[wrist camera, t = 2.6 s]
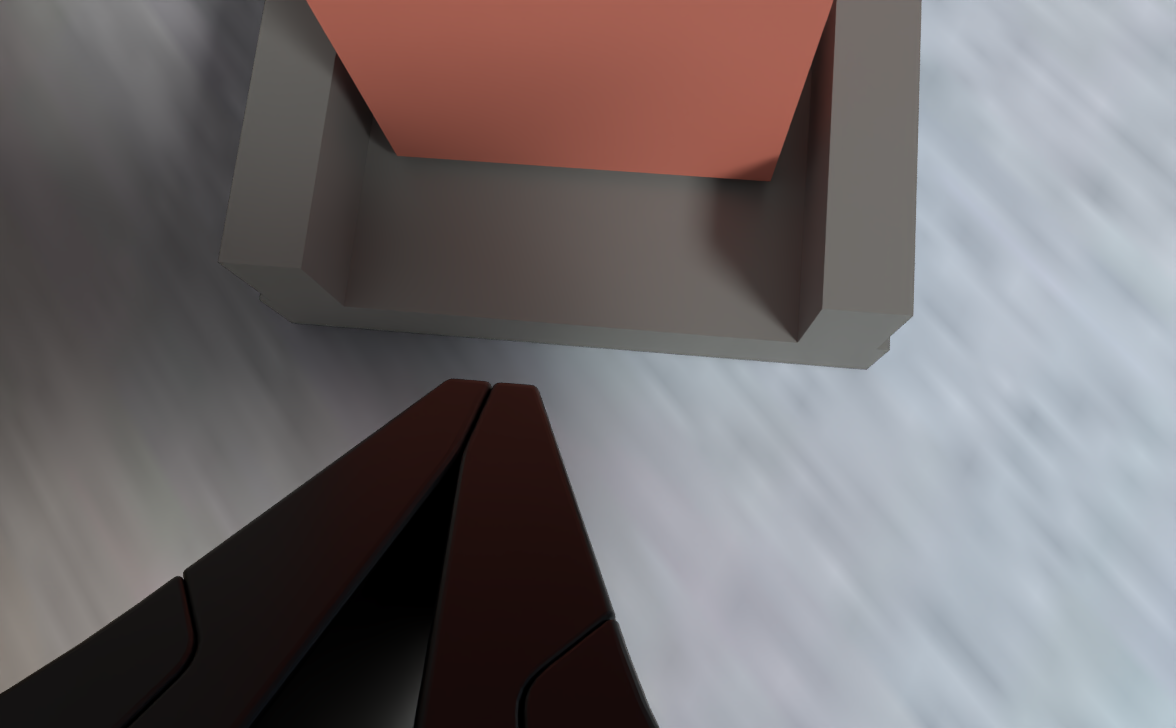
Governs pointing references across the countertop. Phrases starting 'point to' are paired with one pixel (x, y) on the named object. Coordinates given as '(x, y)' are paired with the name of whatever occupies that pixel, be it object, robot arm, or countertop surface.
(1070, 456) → the countertop surface
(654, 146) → the red plug
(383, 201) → the grey slotted holder tray
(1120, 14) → the countertop surface
